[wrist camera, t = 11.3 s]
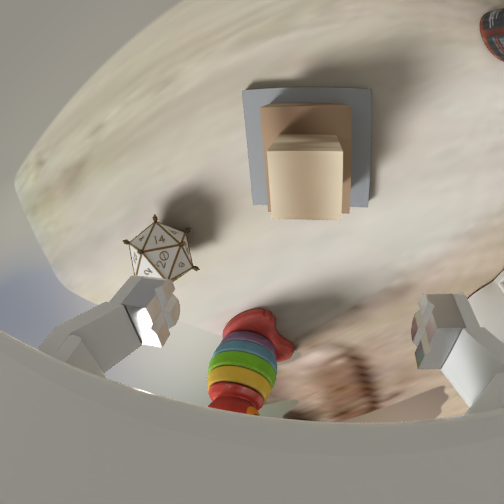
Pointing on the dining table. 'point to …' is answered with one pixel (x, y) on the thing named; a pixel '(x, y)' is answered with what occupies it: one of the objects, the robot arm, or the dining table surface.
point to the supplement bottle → (493, 32)
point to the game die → (161, 252)
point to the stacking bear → (246, 362)
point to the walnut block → (310, 132)
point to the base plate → (350, 96)
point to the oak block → (305, 177)
